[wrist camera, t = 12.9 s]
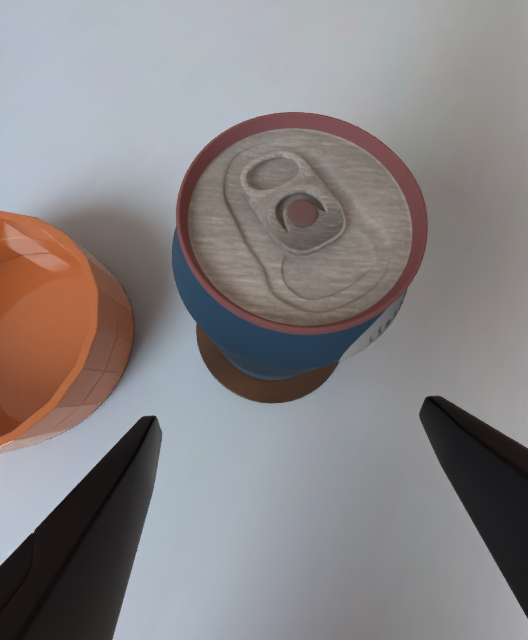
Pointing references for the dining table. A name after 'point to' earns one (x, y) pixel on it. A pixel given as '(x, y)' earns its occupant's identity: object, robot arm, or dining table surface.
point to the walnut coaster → (254, 386)
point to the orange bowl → (55, 332)
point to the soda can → (296, 241)
